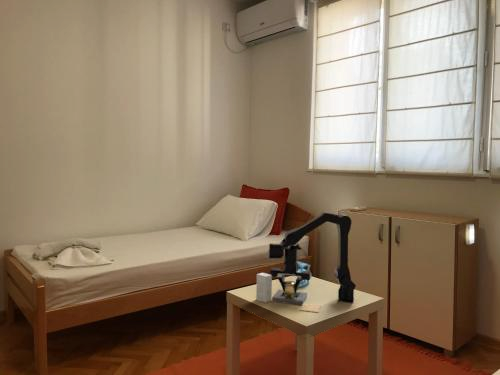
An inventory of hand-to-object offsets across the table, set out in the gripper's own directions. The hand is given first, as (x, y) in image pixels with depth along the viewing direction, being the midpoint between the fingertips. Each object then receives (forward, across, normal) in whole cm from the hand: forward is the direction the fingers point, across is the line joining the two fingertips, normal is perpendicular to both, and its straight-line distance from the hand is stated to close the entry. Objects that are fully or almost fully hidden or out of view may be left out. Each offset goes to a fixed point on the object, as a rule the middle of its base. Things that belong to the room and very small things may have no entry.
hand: (290, 291), depth 187 cm
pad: (+4, -11, +8) cm, 14 cm away
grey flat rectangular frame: (+4, 0, -1) cm, 4 cm away
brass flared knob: (+3, 0, 0) cm, 3 cm away
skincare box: (+4, +11, +5) cm, 13 cm away
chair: (+4, -1, -25) cm, 25 cm away
